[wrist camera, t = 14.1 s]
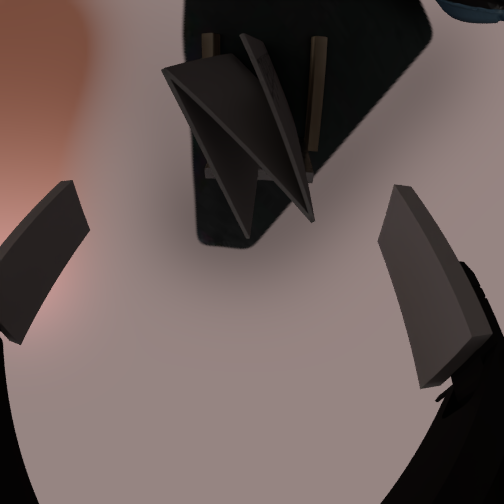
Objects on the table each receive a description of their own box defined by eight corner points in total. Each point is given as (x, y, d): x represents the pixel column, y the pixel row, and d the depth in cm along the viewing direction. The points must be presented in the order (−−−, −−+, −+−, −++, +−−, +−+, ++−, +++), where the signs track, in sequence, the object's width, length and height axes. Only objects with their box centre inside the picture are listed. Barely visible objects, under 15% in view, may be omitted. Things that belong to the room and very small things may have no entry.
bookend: (304, 138, 46) (313, 172, 35) (303, 146, 47) (312, 183, 36) (222, 134, 47) (204, 167, 36) (222, 142, 48) (205, 178, 37)
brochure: (293, 118, 44) (315, 222, 21) (262, 128, 45) (246, 239, 23) (263, 41, 35) (244, 33, 13) (230, 53, 37) (161, 69, 14)
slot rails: (320, 38, 34) (327, 37, 29) (312, 139, 46) (317, 151, 41) (210, 34, 35) (201, 33, 30) (213, 134, 47) (206, 146, 42)
